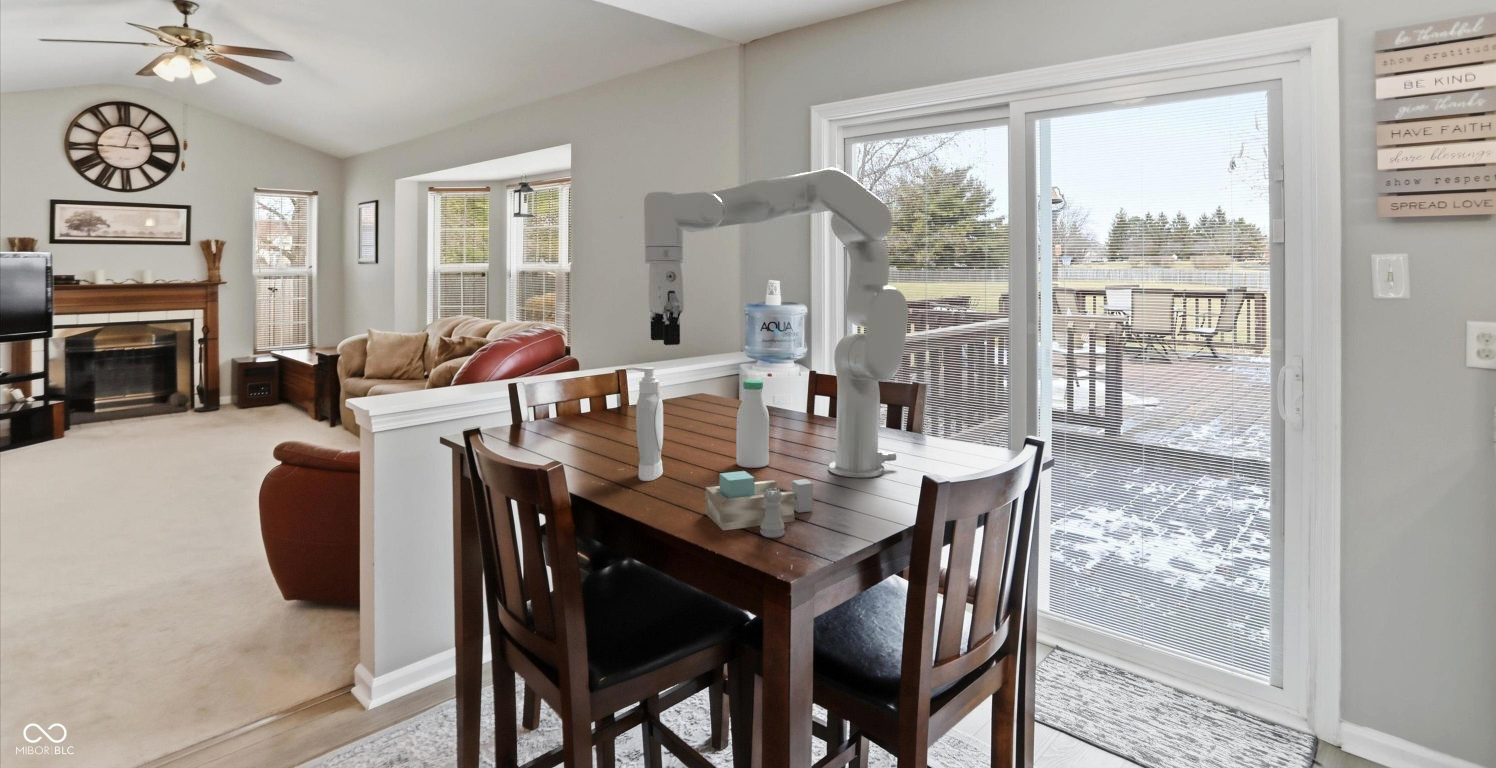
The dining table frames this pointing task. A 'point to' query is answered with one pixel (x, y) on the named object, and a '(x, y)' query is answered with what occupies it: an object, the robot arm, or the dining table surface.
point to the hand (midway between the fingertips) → (665, 342)
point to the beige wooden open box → (745, 507)
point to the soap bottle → (649, 425)
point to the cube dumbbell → (744, 486)
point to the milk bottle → (752, 427)
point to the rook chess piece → (772, 515)
